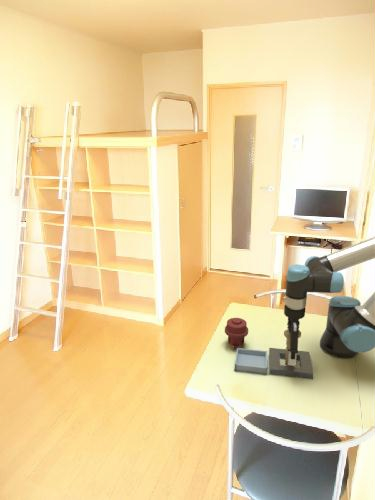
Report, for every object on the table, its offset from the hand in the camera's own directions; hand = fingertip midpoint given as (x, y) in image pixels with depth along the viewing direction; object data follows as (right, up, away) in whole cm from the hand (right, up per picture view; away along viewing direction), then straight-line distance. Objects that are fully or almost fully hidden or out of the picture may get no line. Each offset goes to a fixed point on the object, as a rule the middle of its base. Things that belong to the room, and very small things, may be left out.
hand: (290, 354), depth 139 cm
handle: (0, -5, +2) cm, 5 cm away
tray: (-15, -5, +3) cm, 16 cm away
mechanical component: (-19, -1, +15) cm, 25 cm away
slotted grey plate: (0, -5, +2) cm, 5 cm away
